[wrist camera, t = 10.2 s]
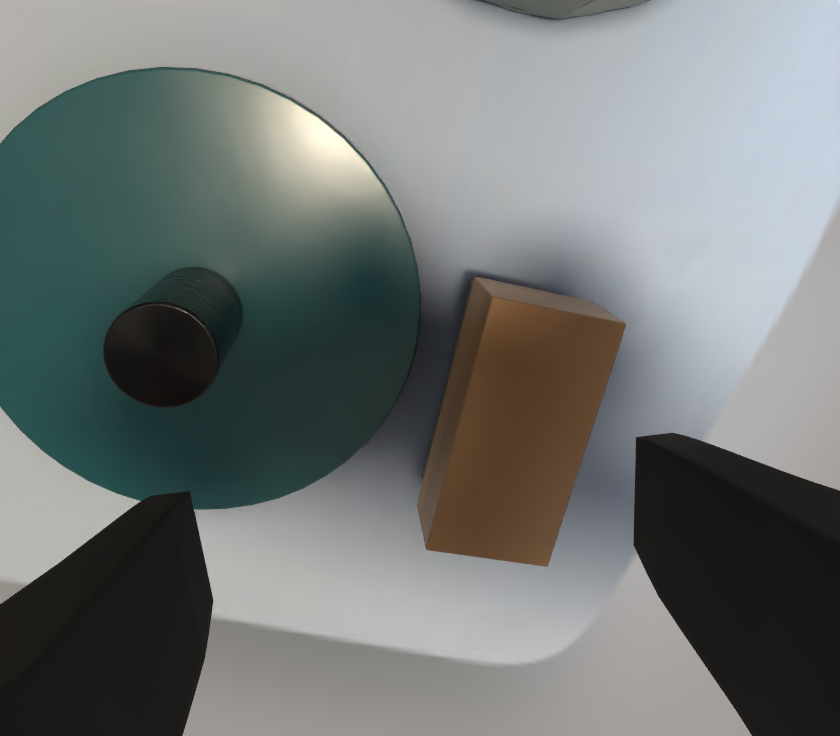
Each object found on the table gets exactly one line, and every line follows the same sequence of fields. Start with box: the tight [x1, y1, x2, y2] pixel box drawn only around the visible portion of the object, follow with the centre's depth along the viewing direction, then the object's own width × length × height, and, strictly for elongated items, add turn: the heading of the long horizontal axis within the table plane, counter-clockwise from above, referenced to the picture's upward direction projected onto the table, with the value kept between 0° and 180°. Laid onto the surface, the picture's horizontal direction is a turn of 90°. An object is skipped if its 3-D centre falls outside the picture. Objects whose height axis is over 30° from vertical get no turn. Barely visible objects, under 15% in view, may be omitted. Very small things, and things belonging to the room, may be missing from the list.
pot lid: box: [0, 67, 421, 509], centre depth 16 cm, size 11×11×5 cm
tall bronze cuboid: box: [417, 277, 626, 566], centre depth 18 cm, size 3×6×4 cm, turn 167°
